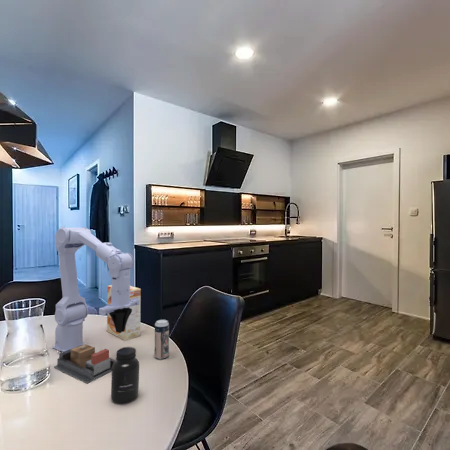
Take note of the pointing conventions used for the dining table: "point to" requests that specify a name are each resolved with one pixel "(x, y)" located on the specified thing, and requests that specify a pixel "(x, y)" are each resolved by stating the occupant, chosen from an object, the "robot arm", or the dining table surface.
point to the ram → (99, 361)
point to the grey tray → (78, 368)
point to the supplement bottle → (125, 376)
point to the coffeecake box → (133, 320)
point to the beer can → (161, 339)
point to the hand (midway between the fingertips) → (120, 331)
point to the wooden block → (82, 354)
